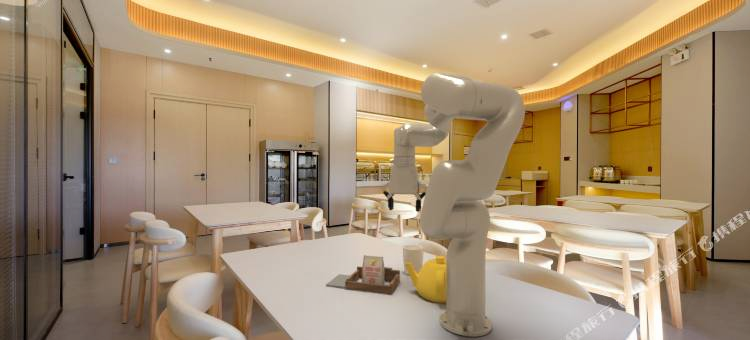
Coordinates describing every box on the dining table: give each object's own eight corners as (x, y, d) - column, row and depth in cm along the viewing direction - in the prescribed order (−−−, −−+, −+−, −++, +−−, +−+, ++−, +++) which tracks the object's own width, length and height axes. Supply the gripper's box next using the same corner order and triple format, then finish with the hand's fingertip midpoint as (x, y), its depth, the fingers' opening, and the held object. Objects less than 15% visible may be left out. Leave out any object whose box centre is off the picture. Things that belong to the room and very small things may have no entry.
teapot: (440, 310, 88) (440, 267, 88) (402, 291, 102) (402, 254, 102) (479, 297, 97) (479, 258, 97) (439, 281, 111) (439, 247, 111)
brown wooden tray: (391, 294, 99) (391, 280, 99) (345, 289, 104) (345, 275, 104) (399, 281, 111) (399, 268, 111) (358, 277, 115) (358, 264, 116)
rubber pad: (345, 288, 104) (345, 286, 104) (325, 286, 106) (325, 284, 106) (356, 277, 115) (356, 276, 115) (339, 275, 117) (339, 274, 117)
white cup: (424, 276, 116) (424, 249, 116) (403, 276, 116) (403, 249, 116) (422, 269, 124) (422, 244, 124) (402, 269, 124) (402, 244, 124)
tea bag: (365, 282, 110) (365, 254, 110) (384, 284, 108) (384, 255, 108) (362, 286, 106) (362, 256, 106) (381, 288, 104) (381, 258, 104)
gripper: (378, 162, 112) (377, 210, 112) (426, 161, 106) (426, 212, 106) (384, 162, 119) (384, 208, 119) (430, 162, 113) (430, 210, 113)
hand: (404, 210), depth 112 cm, fingers open, 9 cm apart
